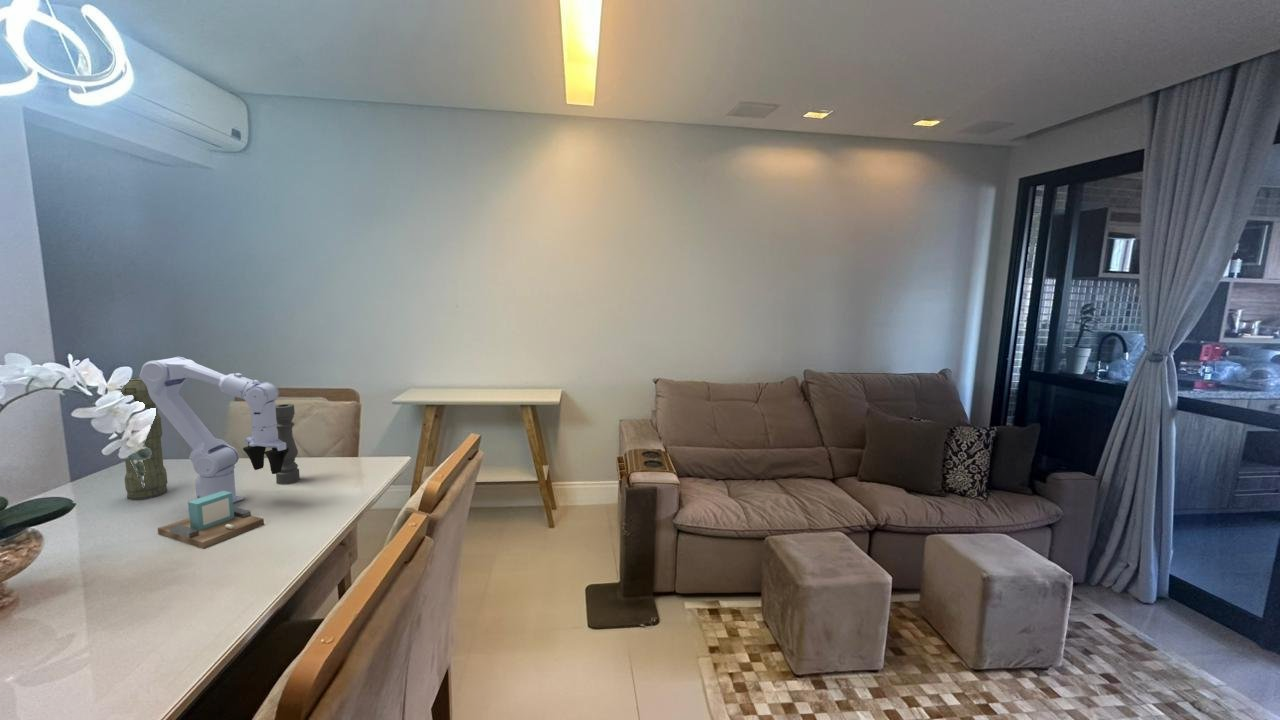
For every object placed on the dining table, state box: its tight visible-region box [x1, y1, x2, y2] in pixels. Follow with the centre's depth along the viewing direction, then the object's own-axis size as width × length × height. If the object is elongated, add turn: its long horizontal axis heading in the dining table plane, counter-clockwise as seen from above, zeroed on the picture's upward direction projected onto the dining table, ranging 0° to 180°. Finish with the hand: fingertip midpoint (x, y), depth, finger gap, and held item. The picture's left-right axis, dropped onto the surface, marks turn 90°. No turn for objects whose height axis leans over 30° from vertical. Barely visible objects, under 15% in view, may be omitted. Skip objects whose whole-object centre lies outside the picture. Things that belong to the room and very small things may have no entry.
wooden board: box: [157, 505, 265, 549], centre depth 131 cm, size 18×14×3 cm
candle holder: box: [275, 403, 301, 485], centre depth 162 cm, size 6×6×25 cm
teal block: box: [187, 491, 234, 531], centre depth 130 cm, size 4×8×7 cm, turn 159°
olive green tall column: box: [121, 377, 169, 501], centre depth 148 cm, size 9×12×35 cm
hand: (267, 470), depth 147 cm, fingers open, 7 cm apart
